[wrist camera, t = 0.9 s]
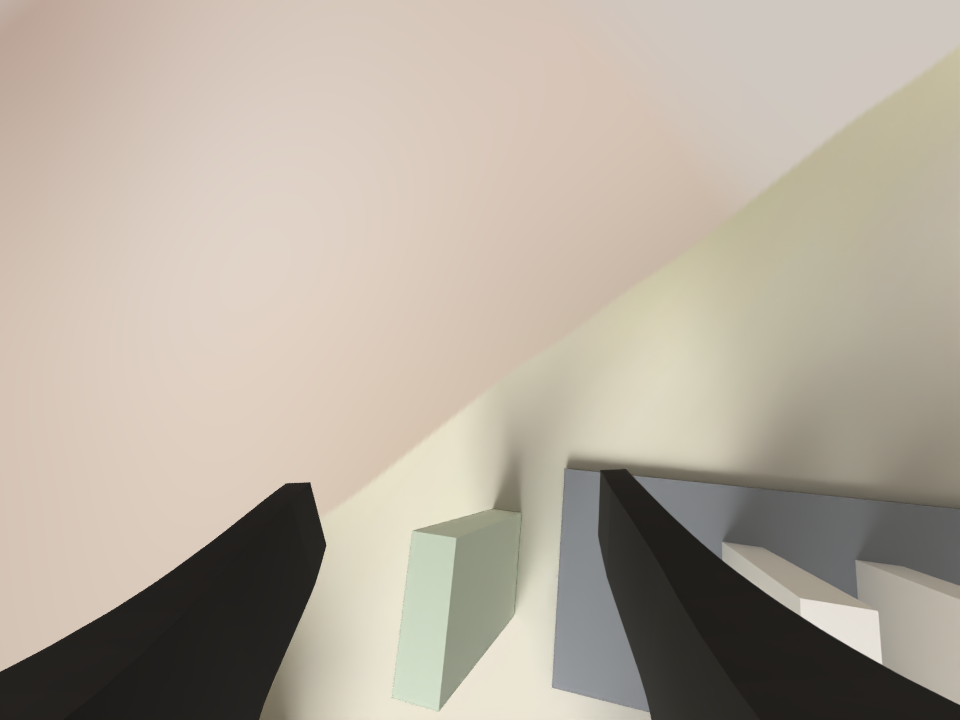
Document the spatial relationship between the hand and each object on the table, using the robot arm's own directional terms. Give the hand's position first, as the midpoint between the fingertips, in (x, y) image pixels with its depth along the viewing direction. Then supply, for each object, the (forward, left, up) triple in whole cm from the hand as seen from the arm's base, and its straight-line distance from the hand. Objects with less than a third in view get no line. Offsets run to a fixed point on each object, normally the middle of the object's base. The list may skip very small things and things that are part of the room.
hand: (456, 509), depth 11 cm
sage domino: (-3, +3, -14) cm, 14 cm away
